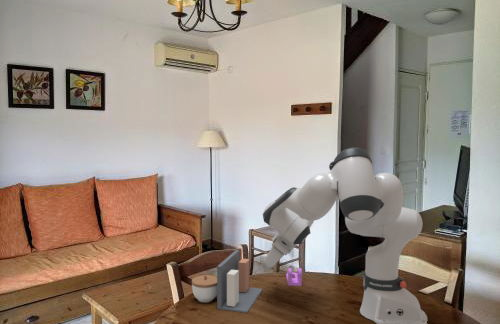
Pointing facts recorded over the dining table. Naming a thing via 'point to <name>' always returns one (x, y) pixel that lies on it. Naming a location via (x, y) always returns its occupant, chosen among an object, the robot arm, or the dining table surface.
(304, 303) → the dining table surface
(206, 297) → the lidded jar
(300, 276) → the bracket
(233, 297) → the white rectangular block
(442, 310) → the dining table surface
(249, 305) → the gray bookend
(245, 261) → the salmon pink block
